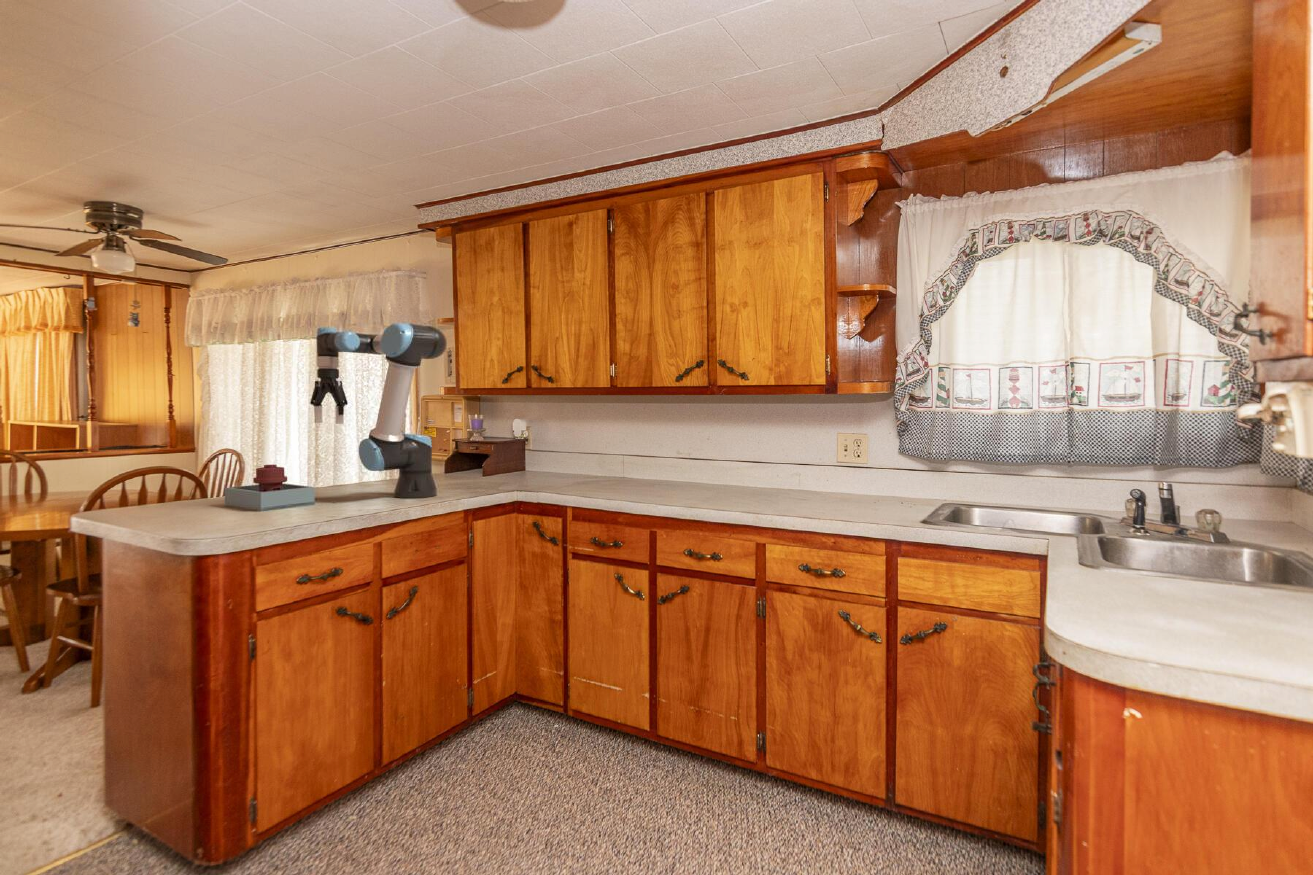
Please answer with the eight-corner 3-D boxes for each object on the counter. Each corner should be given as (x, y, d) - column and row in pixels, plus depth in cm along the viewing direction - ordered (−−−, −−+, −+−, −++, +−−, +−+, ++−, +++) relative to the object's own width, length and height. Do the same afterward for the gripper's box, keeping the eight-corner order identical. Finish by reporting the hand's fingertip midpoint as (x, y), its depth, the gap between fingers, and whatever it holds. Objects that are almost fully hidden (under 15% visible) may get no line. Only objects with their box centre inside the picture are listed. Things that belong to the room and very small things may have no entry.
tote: (314, 504, 234) (314, 487, 234) (261, 511, 218) (260, 492, 218) (278, 499, 245) (277, 482, 245) (225, 505, 230) (224, 487, 230)
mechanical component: (265, 504, 225) (247, 501, 230) (294, 500, 234) (276, 498, 238) (264, 466, 224) (246, 465, 229) (293, 464, 233) (275, 463, 238)
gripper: (357, 368, 260) (357, 423, 261) (318, 369, 273) (318, 422, 274) (338, 367, 254) (339, 424, 255) (299, 368, 267) (300, 422, 268)
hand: (329, 423), depth 264 cm, fingers open, 13 cm apart
